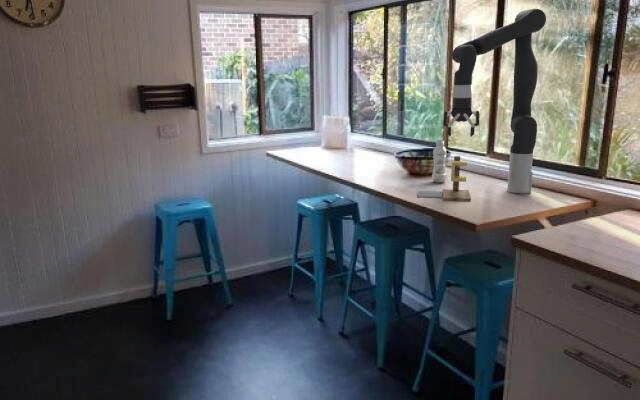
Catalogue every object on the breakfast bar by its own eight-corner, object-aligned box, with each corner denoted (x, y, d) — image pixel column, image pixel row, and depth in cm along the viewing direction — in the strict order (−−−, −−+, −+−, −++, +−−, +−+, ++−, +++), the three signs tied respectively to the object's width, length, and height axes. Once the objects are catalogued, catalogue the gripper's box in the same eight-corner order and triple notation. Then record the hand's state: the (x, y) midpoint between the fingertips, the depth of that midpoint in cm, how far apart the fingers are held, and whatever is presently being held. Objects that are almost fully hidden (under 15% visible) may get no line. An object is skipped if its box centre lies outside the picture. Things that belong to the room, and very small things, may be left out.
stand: (468, 192, 222) (470, 156, 218) (470, 201, 208) (472, 162, 204) (442, 191, 224) (444, 155, 220) (443, 200, 210) (444, 162, 206)
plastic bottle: (436, 184, 238) (437, 142, 233) (429, 181, 245) (430, 140, 240) (448, 183, 240) (450, 141, 235) (441, 180, 246) (442, 139, 241)
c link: (465, 179, 215) (466, 161, 213) (466, 181, 211) (467, 162, 209) (450, 179, 216) (451, 160, 214) (451, 181, 212) (452, 162, 210)
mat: (441, 192, 223) (441, 191, 223) (441, 198, 214) (441, 197, 214) (418, 191, 225) (418, 190, 225) (417, 197, 216) (417, 196, 216)
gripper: (479, 95, 207) (477, 135, 211) (444, 96, 210) (442, 135, 214) (481, 96, 200) (479, 137, 204) (444, 97, 203) (442, 137, 207)
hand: (460, 136), depth 209 cm, fingers open, 8 cm apart
